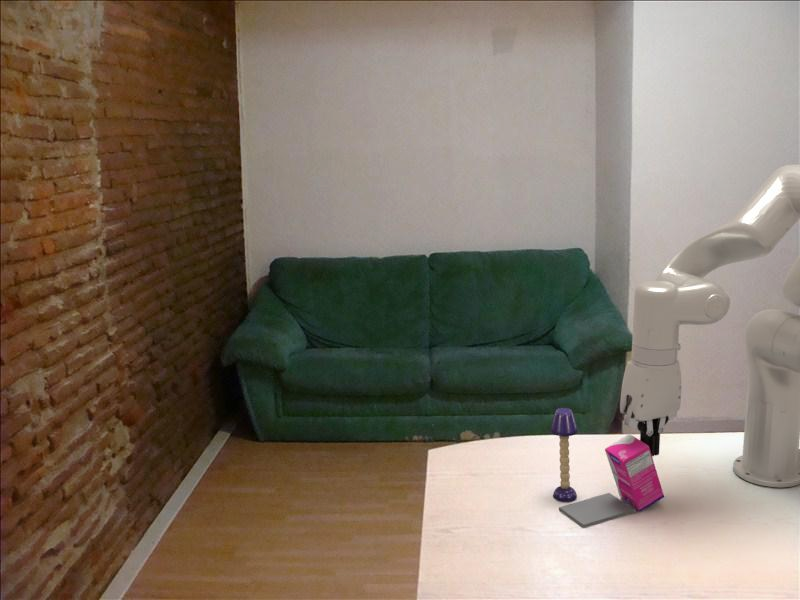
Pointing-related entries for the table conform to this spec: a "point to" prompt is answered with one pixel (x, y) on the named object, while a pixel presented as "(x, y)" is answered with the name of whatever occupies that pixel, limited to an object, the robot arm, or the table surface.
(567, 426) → the toy lamp
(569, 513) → the mat
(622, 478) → the supplement box
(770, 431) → the robot arm
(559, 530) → the table surface
